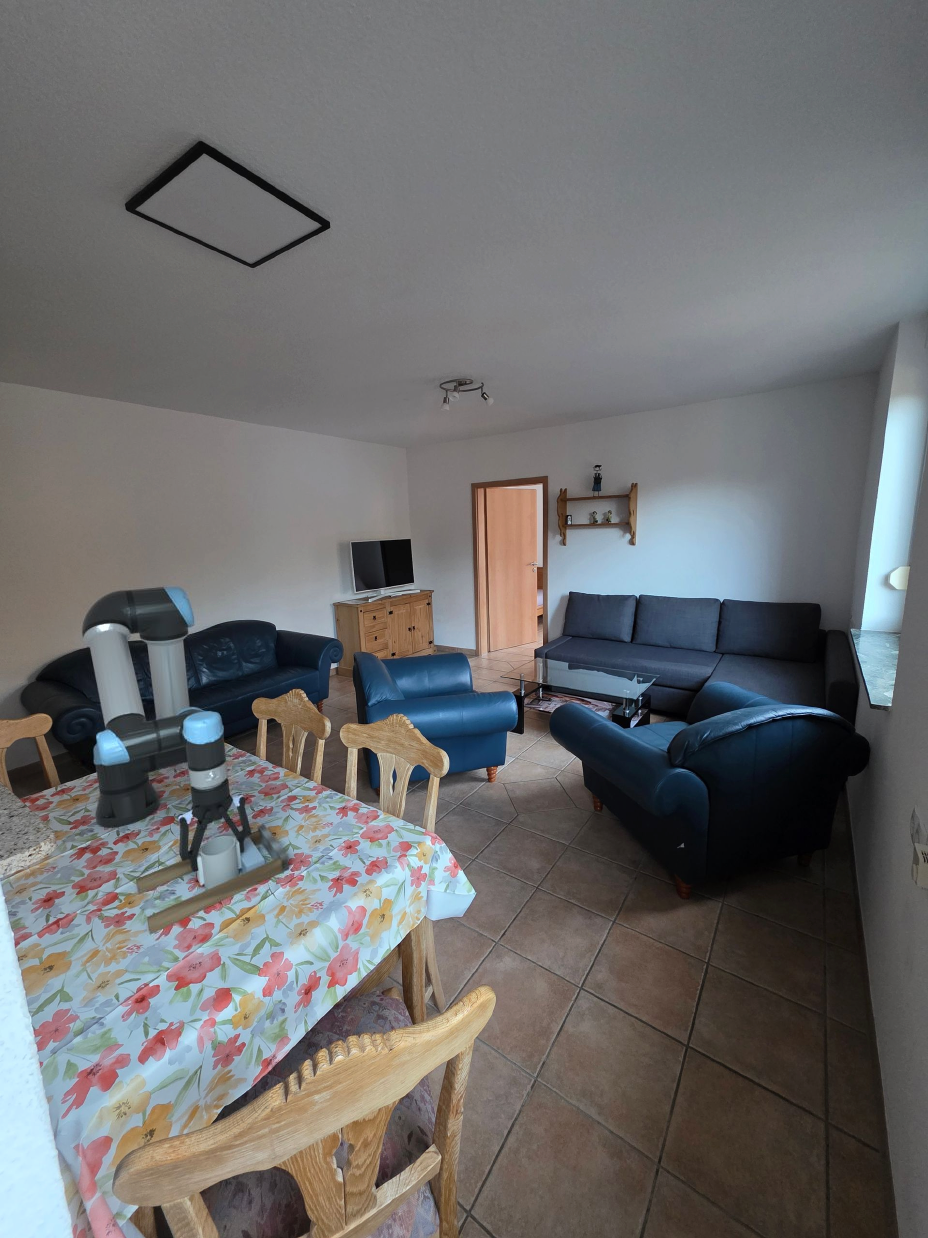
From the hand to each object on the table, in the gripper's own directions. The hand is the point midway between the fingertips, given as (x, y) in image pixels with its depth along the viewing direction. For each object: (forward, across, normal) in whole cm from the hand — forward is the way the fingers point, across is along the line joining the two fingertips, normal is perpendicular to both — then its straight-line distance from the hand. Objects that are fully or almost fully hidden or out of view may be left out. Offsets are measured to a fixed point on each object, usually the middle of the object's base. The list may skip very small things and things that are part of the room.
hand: (220, 873), depth 112 cm
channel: (+1, -1, 0) cm, 2 cm away
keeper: (+1, +6, 0) cm, 7 cm away
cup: (+1, 0, 0) cm, 1 cm away
